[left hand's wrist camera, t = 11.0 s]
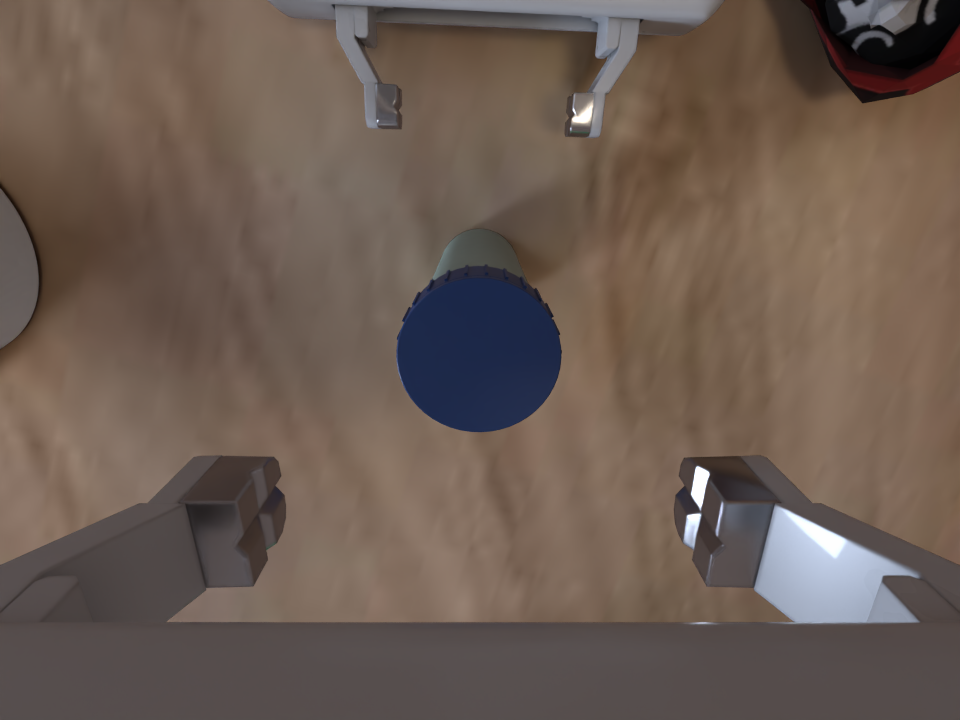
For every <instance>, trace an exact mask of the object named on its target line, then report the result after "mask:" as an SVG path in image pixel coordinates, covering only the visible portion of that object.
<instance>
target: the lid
mask: <svg viewBox="0 0 960 720" xmlns="http://www.w3.org/2000/svg"><path fill="white" fill-rule="evenodd" d="M552 317H554V316H553V314H552V312H551V310H550V308H549V306H548V304H547V303H544V302H543V300H542V298H541V296H540V294H539V292H538V290H537V289H536V288H535V289H533V288H532V287H531V286H530V285H529V284H528V283H527V282H525V280H524V278H523V277H522V276H521V277H518V276H516V275H514V274H512V273H510V272H508V271H507V269H506V268H504V269H503V270H502V269H499V268H494V267H489V266H488V264H485V266H468V265H465V267H464V268H459V269H456V270H453V271H450V270H447V272H446V274H444V275H442V276H440V277H438V278H437V279H435V280H433V279H432V280H430V283H429V285H428V286H427V287H426V288H425V289H424V290H423V291H422V292H421V293H420V292H418V293H417V295H416V297H415V299H414V301H413V303H412V307H411V308H410V307H409V308H408V310H407V312H406V314H405V316H404V318H403V320H402V321H403V322H404V324H403V326H402V328H401V330H400V332H399V334H398V336H397V340H398V343H397V355H396V357H397V366H398V372H399V375H400V378H401V381H402V383H403V386H404V388H405V390H406V391H407V393H408V395H409V396H410V398H411V399H412V400H413V402H414V403H415V404H416V405H417V406H418V407H419V408H420V409H421V410H422V411H423V412H424V413H425V414H427V415H428V416H430V417H431V418H432V419H434V420H436V421H438V422H439V423H441V424H444V425H446V426H448V427H451V428H454V429H458V430H463V431H469V432H489V431H495V430H500V429H503V428H507V427H510V426H512V425H514V424H516V423H519V422H520V421H522V420H524V419H525V418H527V417H529V416H530V415H531V414H532V413H534V412H535V411H536V410H537V409H538V408H539V407H540V406H541V405H542V404H543V403H544V401H545V400H546V399H547V397H548V396H549V395H550V393H551V391H552V389H553V388H554V385H555V383H556V380H557V378H558V374H559V370H560V365H561V354H562V350H561V345H560V339H559V335H560V332H559V330H558V328H557V326H556V324H555V322H554V320H552Z"/></svg>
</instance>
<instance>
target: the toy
mask: <svg viewBox="0 0 960 720" xmlns="http://www.w3.org/2000/svg"><path fill="white" fill-rule="evenodd" d="M801 1H802V2H803V3H804V4H805V5H806V6H808V7H809V9H810V12H811V14H812V17H813V20H814V22H815V25H816V28H817V30H818V33H819V36H820V38H821V41H822V44H823V46H824V49H825V52H826V54H827V57H828V60H829V62H830V65H831V67H832V68H833V69H834V70H835V72H836V73H837V74H838V75H839V76H840V77H841V79H842V80H843V81H844V82H845V83H846V85H847V86H848V87H849V88H850V89H851V90H852V92H853V93H854V94H855V95H856V96H857V97H858V99H859V100H860V101H861V102H862V103H867V102H872V101H878V100H883V99H889V98H894V97H899V96H905V95H910V94H914V93H916V92H919V91H921V90H923V89H925V88H928V87H930V86H932V85H934V84H936V83H938V82H940V81H942V80H944V79H946V78H948V77H950V76H952V75H954V74H956V73H958V72H960V0H801Z"/></svg>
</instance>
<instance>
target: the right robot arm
mask: <svg viewBox="0 0 960 720" xmlns="http://www.w3.org/2000/svg"><path fill="white" fill-rule="evenodd" d="M268 1H269V2H270V3H271V4H272V5H273V6H275V7H276V8H277V9H278V10H280V11H281V12H282V13H284V14H286V15H287V16H289V17H292V18H302V19H324V20H336V35H337V38H338V40H339V42H340V44H341V46H342V48H343V50H344V51H345V53H346V55H347V57H348V59H349V61H350V62H351V64H352V66H353V68H354V70H355V72H356V73H357V75H358V77H359V79H360V81H361V82H362V83H363V84H364V92H365V118H366V123H367V127H369V128H372V129H402V115H401V113H400V111H399V109H400V108H401V106H402V90H401V89H400V88H399V87H398V86H397V85H393V84H383V83H382V81H381V80H380V78H379V76H378V74H377V72H376V70H375V68H374V66H373V64H372V62H371V60H370V58H369V56H368V54H367V52H366V50H365V46H366V47H367V48H375V47H376V46H377V22H388V23H410V24H432V25H453V26H475V27H496V28H518V29H540V30H561V31H583V32H597V42H596V53H595V56H596V57H597V58H600V59H605V58H606V57H607V61H606V62H605V64H604V66H603V67H602V69H601V70H600V72H599V74H598V75H597V77H596V78H595V80H594V82H593V83H592V85H591V87H590V88H589V90H588V91H587V93H573V94H571V96H569V97H568V98H567V109H566V113H567V115H568V117H569V118H568V120H567V121H566V122H565V137H580V138H596V137H599V136H600V133H601V129H602V122H603V114H604V105H605V96H606V94H608V93H609V92H610V90H611V89H612V87H613V86H614V84H615V83H616V81H617V80H618V78H619V76H620V75H621V73H622V72H623V70H624V69H625V67H626V66H627V64H628V63H629V61H630V60H631V58H632V56H633V55H634V53H635V52H636V48H637V40H638V34H648V35H668V36H680V35H684V34H687V33H688V32H690V31H692V30H693V29H695V28H697V27H698V26H700V25H701V24H702V23H704V22H705V21H707V20H708V19H709V18H710V17H711V16H712V15H713V14H714V13H715V12H716V11H717V10H718V8H719V7H720V6H721V5H722V4H723V2H724V1H725V0H268ZM38 289H39V274H38V266H37V260H36V255H35V251H34V248H33V245H32V242H31V239H30V236H29V234H28V232H27V229H26V227H25V225H24V223H23V221H22V219H21V217H20V216H19V214H18V212H17V211H16V209H15V207H14V206H13V204H12V203H11V201H10V200H9V199H8V197H7V196H6V195H5V193H4V192H3V191H2V190H1V188H0V349H1V348H3V347H4V346H5V345H7V344H8V343H10V342H11V341H12V340H14V339H15V338H16V337H17V336H18V335H19V334H20V333H21V332H22V331H23V329H24V328H25V327H26V325H27V324H28V322H29V320H30V318H31V316H32V314H33V312H34V309H35V306H36V302H37V297H38Z"/></svg>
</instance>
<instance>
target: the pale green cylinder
mask: <svg viewBox="0 0 960 720" xmlns="http://www.w3.org/2000/svg"><path fill="white" fill-rule="evenodd" d="M485 264H488V266H489V267H494V268H499V269H502V270H503V269H504V268H506V269H507V271H508V272H510V273H512V274H514V275H516V276H518V277H521V276H522V277H523V278H524V280H525V282H527V280H526V278H525V275H524V273H523V271H522V268H521V266H520V263H519V261H518V259H517V256H516V254H515V252H514V250H513V248H512V246H511V245H510V243H509V242H508V241H507V240H506V239H505V238H504V237H502V236H501V235H499V234H498V233H495V232H493V231H490V230H486V229H472V230H468V231H465V232H463V233H461V234H459V235H458V236H456V237H455V238H454V239H453V240H452V241H451V242H450V243H449V244H448V245H447V247H446V249H445V251H444V253H443V255H442V258H441V260H440V262H439V265H438V267H437V269H436V272H435V274H434V276H433V280H435V279H437V278H438V277H440V276H442V275H444V274H446V272H447V270H450V271H453V270H456V269H459V268H464V267H465V265H468V266H485Z"/></svg>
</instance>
